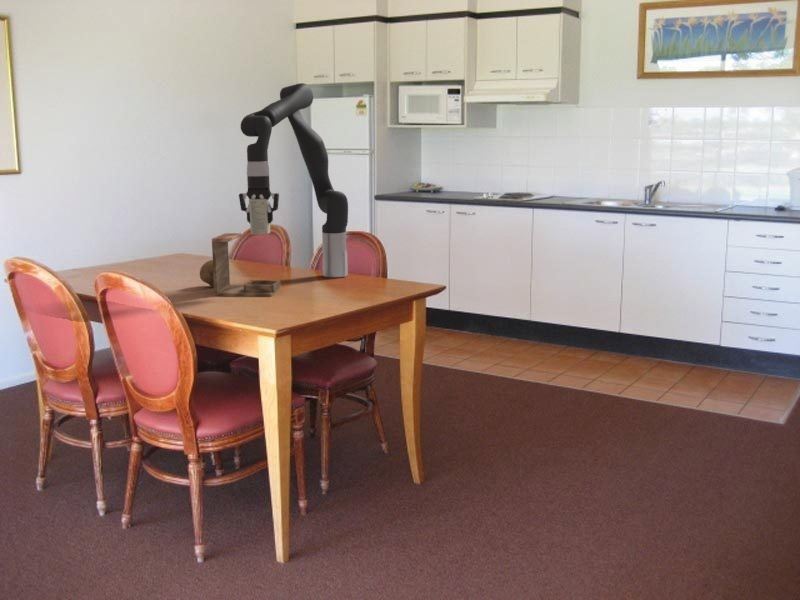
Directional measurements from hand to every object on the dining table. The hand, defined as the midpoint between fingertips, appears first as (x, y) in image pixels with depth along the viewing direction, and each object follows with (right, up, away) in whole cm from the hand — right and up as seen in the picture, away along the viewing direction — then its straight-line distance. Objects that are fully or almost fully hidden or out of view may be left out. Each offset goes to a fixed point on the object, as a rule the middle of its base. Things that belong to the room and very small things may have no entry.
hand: (260, 223), depth 309 cm
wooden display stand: (-5, -24, +5) cm, 25 cm away
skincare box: (0, -4, +1) cm, 4 cm away
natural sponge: (-20, -22, +16) cm, 34 cm away
